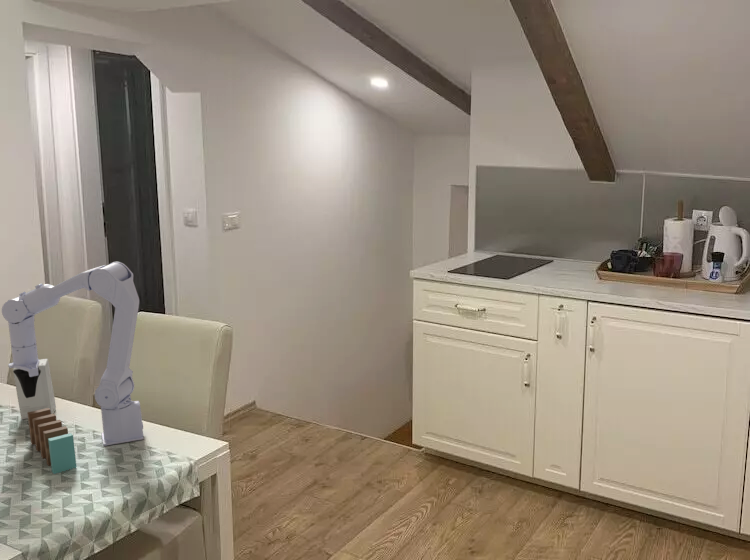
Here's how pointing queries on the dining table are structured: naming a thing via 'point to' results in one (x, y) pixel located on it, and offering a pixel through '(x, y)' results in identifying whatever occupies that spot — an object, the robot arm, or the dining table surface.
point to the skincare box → (37, 392)
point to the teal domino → (62, 453)
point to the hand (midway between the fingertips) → (30, 396)
